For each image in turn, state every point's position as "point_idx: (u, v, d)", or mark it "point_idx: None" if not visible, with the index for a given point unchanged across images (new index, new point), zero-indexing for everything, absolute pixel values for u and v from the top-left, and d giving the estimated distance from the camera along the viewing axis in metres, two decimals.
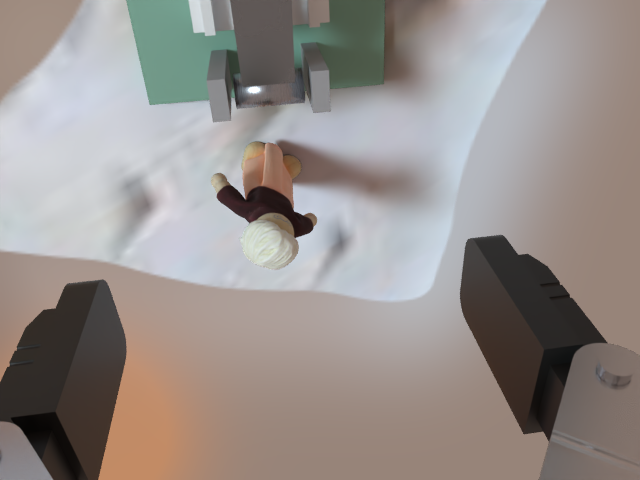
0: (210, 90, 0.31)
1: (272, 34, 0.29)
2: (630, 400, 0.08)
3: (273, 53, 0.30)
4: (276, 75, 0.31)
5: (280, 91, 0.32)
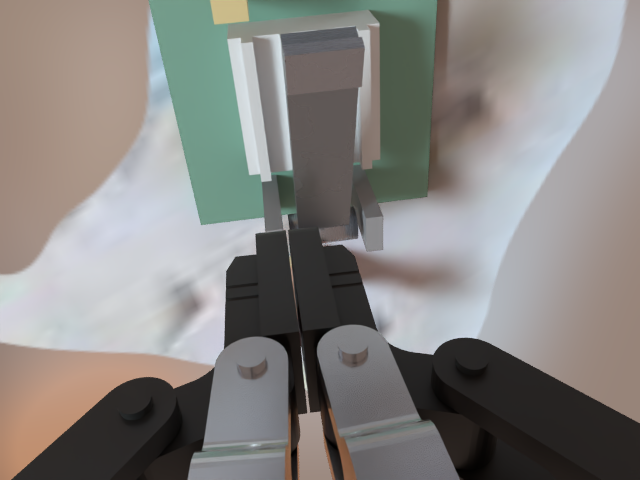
0: None
1: (331, 195, 0.30)
2: (353, 375, 0.09)
3: (331, 207, 0.31)
4: (332, 221, 0.32)
5: (335, 233, 0.33)
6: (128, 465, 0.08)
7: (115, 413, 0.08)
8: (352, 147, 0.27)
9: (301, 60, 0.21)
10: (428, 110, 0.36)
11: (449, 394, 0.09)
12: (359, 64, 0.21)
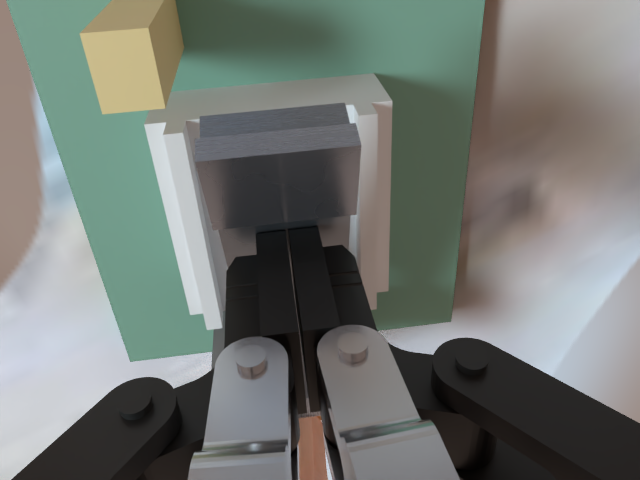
0: None
1: None
2: (353, 375, 0.09)
3: None
4: None
5: None
6: (129, 465, 0.08)
7: (115, 413, 0.08)
8: None
9: (231, 169, 0.10)
10: (458, 212, 0.25)
11: (449, 394, 0.09)
12: (351, 176, 0.11)
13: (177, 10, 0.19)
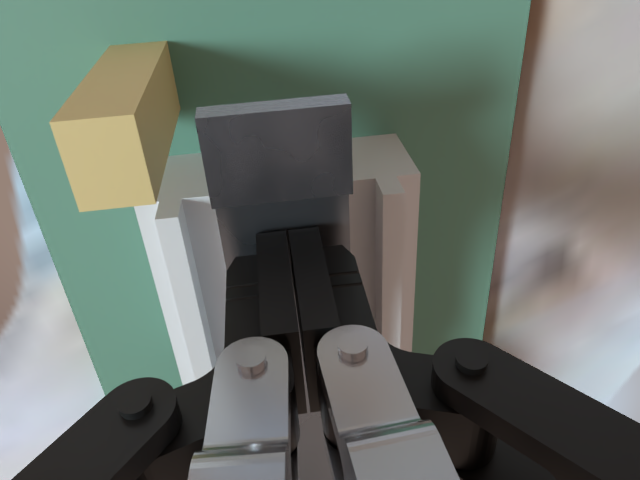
0: None
1: (319, 426, 0.17)
2: (353, 376, 0.09)
3: (321, 450, 0.18)
4: (325, 478, 0.18)
5: None
6: (129, 465, 0.08)
7: (115, 413, 0.08)
8: None
9: (229, 129, 0.11)
10: (486, 278, 0.22)
11: (449, 394, 0.09)
12: (344, 142, 0.11)
13: (172, 68, 0.16)
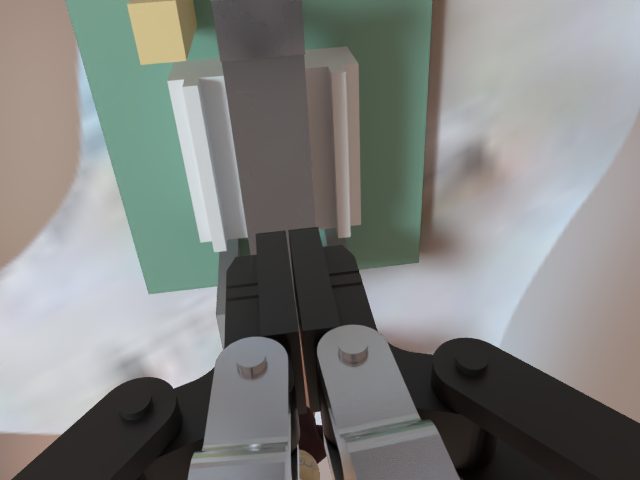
0: (220, 324, 0.26)
1: None
2: (353, 375, 0.09)
3: None
4: None
5: None
6: (129, 465, 0.08)
7: (115, 413, 0.08)
8: (309, 162, 0.23)
9: (230, 8, 0.19)
10: (420, 164, 0.30)
11: (449, 394, 0.09)
12: (298, 18, 0.19)
13: None
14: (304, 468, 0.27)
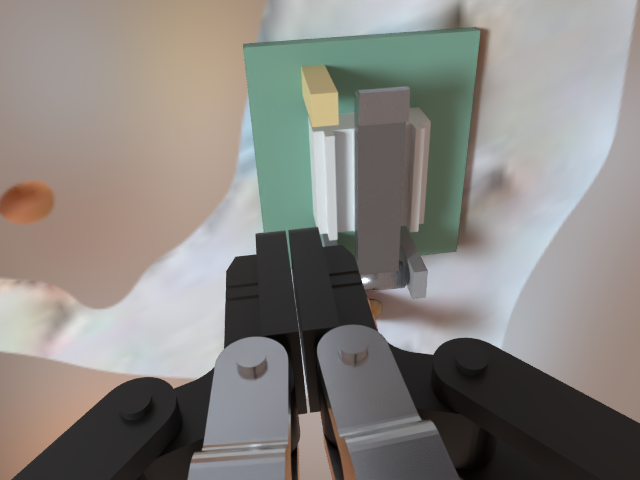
0: None
1: (385, 233, 0.39)
2: (353, 375, 0.09)
3: (384, 248, 0.39)
4: (384, 265, 0.40)
5: (387, 278, 0.40)
6: (129, 465, 0.08)
7: (115, 413, 0.08)
8: (401, 183, 0.37)
9: (370, 97, 0.32)
10: (461, 183, 0.44)
11: (449, 394, 0.09)
12: (406, 102, 0.33)
13: None
14: None
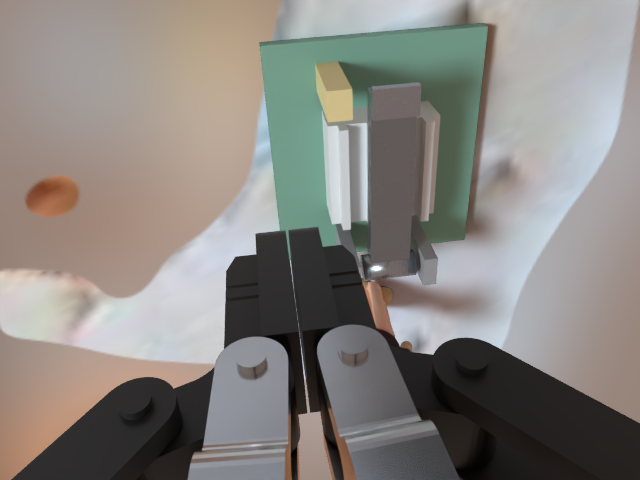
0: None
1: (397, 223, 0.40)
2: (353, 376, 0.09)
3: (396, 237, 0.41)
4: (396, 253, 0.42)
5: (398, 265, 0.42)
6: (129, 465, 0.08)
7: (115, 413, 0.08)
8: (412, 175, 0.38)
9: (383, 93, 0.34)
10: (469, 173, 0.45)
11: (449, 394, 0.09)
12: (418, 98, 0.34)
13: None
14: None
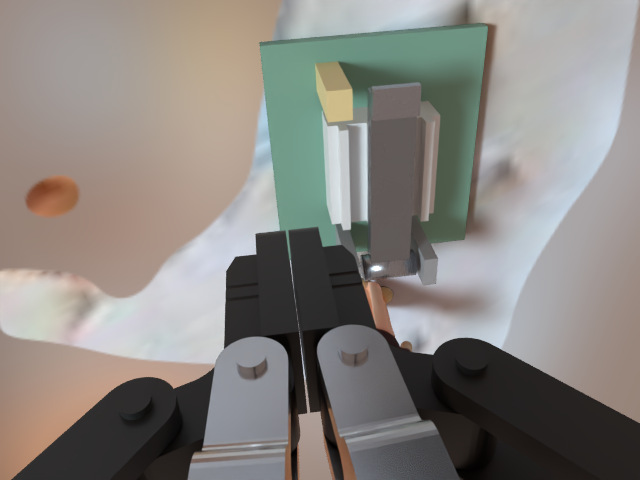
0: None
1: (397, 223, 0.40)
2: (353, 375, 0.09)
3: (396, 237, 0.41)
4: (396, 253, 0.42)
5: (398, 265, 0.42)
6: (129, 465, 0.08)
7: (115, 413, 0.08)
8: (412, 175, 0.38)
9: (383, 93, 0.34)
10: (469, 173, 0.45)
11: (449, 394, 0.09)
12: (418, 98, 0.34)
13: None
14: None
